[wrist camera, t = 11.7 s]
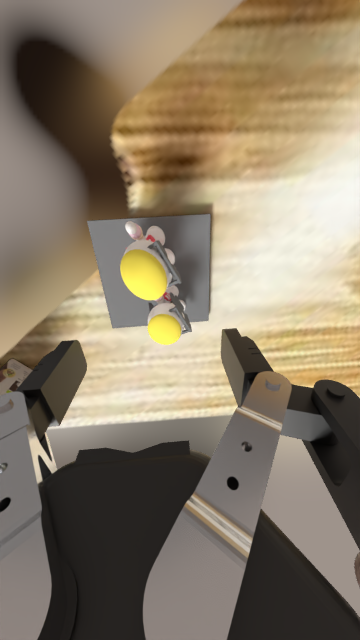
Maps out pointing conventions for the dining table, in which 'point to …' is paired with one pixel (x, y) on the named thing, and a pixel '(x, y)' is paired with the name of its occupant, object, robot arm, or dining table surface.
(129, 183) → the dining table surface
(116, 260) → the mat
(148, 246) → the toy figures
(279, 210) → the dining table surface
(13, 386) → the coffee box
